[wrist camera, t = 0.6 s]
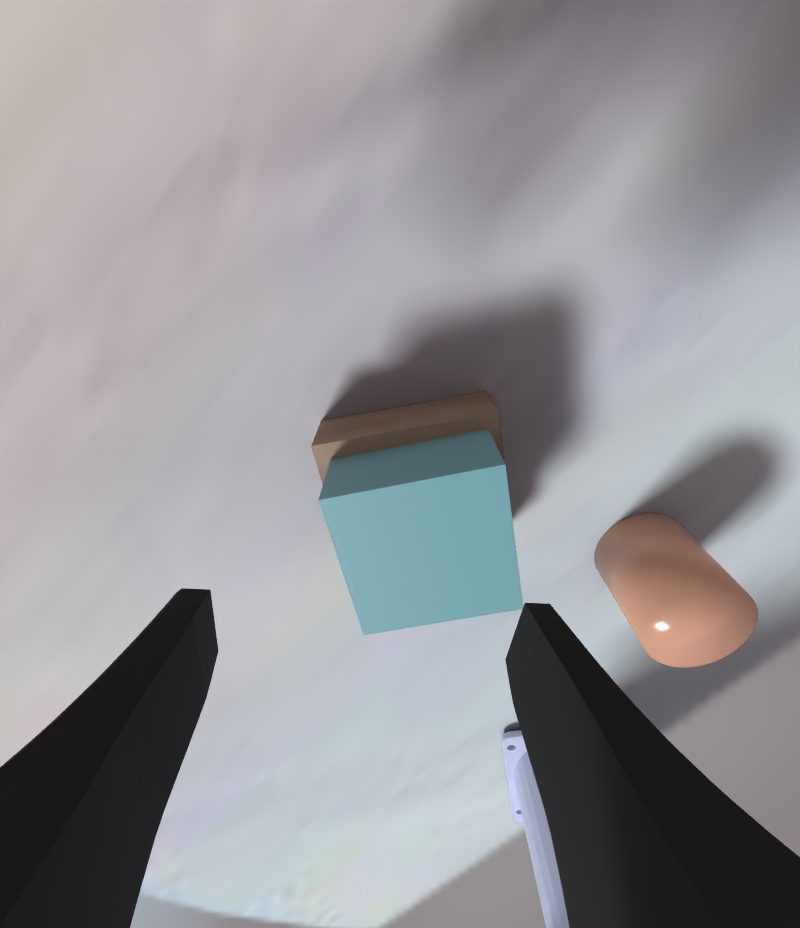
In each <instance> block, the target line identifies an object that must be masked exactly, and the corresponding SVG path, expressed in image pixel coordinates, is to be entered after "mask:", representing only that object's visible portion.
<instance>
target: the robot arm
mask: <svg viewBox="0 0 800 928" xmlns="http://www.w3.org/2000/svg"><path fill="white" fill-rule="evenodd" d="M217 654H218V645H217V638H216V630H215V622H214V615H213V607H212V600H211V592H210V590H205V589H181V590H179V591H178V592H177V593H176V594H175V595H174V596H173V597H172V599H171V600H170V601H169V602H168V603H167V604H166V605H165V607H164V608H163V609H162V610H161V611H160V612H159V613H158V614H157V616H156V617H155V618H154V619H153V620H152V621H151V622H150V623H149V625H148V626H147V627H146V628H145V629H144V630H143V631H142V632H141V633H140V634H139V635H138V637H137V638H136V639H135V640H134V641H133V642H132V643H131V644H130V645H129V646H128V647H127V648H126V649H125V650H124V651H123V653H122V654H121V655H120V656H119V657H118V658H117V659H116V660H115V661H114V662H113V663H112V664H111V665H110V666H109V667H108V668H107V669H106V670H105V671H104V672H103V673H102V674H101V675H100V676H99V677H98V678H97V679H96V680H95V681H94V682H93V683H92V684H91V685H90V686H89V687H88V688H87V689H86V690H85V691H84V692H83V693H82V694H81V695H80V696H79V697H78V698H77V699H76V700H75V701H74V702H73V703H72V704H71V705H69V706H68V707H67V708H66V709H65V710H64V711H63V712H62V713H61V714H60V715H59V716H58V717H57V718H56V719H55V720H54V721H53V722H52V723H50V724H49V725H48V726H47V727H46V728H45V729H44V730H43V731H42V732H40V733H39V734H38V735H37V736H36V737H35V738H34V739H33V740H32V741H30V742H29V743H28V744H27V745H26V746H25V747H24V748H22V749H21V750H20V751H19V752H18V753H17V754H15V755H14V756H13V757H12V758H11V759H10V760H8V761H7V762H6V763H5V764H4V765H3V766H1V767H0V928H130V925H131V921H132V918H133V914H134V910H135V907H136V903H137V899H138V896H139V892H140V889H141V885H142V882H143V878H144V875H145V871H146V868H147V864H148V861H149V857H150V854H151V850H152V847H153V843H154V840H155V836H156V833H157V830H158V827H159V824H160V821H161V818H162V815H163V812H164V810H165V807H166V804H167V802H168V799H169V796H170V794H171V791H172V788H173V786H174V783H175V780H176V778H177V775H178V772H179V770H180V767H181V764H182V762H183V759H184V756H185V754H186V751H187V748H188V746H189V743H190V740H191V738H192V735H193V732H194V730H195V727H196V724H197V722H198V719H199V716H200V714H201V711H202V708H203V705H204V703H205V700H206V697H207V693H208V689H209V686H210V682H211V678H212V674H213V670H214V666H215V662H216V658H217ZM506 665H507V671H508V677H509V683H510V689H511V694H512V699H513V704H514V708H515V712H516V715H517V719H518V722H519V725H520V729H521V730H517V731H510V732H506V733H504V734H503V735H502V737H501V740H502V746H503V753H504V760H505V767H506V774H507V781H508V787H509V794H510V801H511V808H512V815H513V820H514V822H515V823H517V824H524V827H525V831H526V836H527V840H528V845H529V850H530V854H531V859H532V864H533V868H534V873H535V878H536V882H537V886H538V891H539V896H540V901H541V905H542V910H543V914H544V919H545V923H546V928H800V857H799V856H798V855H796V854H795V853H794V852H792V851H791V850H790V849H789V848H788V847H786V846H785V845H784V844H783V843H782V842H780V841H779V840H778V839H777V838H775V837H774V836H773V835H772V834H771V833H769V832H768V831H767V830H766V829H765V828H764V827H762V826H761V825H760V824H759V823H758V822H756V821H755V820H754V819H753V818H752V817H751V816H749V815H748V814H747V813H746V812H745V811H744V810H743V809H741V808H740V807H739V806H738V805H737V804H735V803H734V802H733V801H732V800H731V799H730V798H729V797H728V796H727V795H725V794H724V793H723V792H722V791H721V790H720V789H719V788H718V787H717V786H715V785H714V784H713V783H712V782H711V781H710V780H709V779H708V778H707V777H706V776H705V775H704V774H703V773H702V772H701V771H699V770H698V769H697V768H696V767H695V766H694V765H693V764H692V763H691V762H690V761H689V760H688V759H687V758H686V757H685V756H684V755H683V754H682V753H680V752H679V751H678V750H677V749H676V748H675V747H674V746H673V745H672V744H671V743H670V742H669V741H668V740H667V738H666V737H665V736H664V735H663V734H662V733H661V732H660V731H659V730H658V729H657V728H656V727H655V726H654V725H653V724H652V723H651V722H650V721H649V720H648V719H647V718H646V716H645V715H644V714H643V713H642V712H641V711H640V710H639V709H638V708H637V707H636V706H635V705H634V704H633V703H632V701H631V700H630V699H629V698H628V697H627V696H626V695H625V694H624V692H623V691H622V690H621V689H620V688H619V687H618V686H617V684H616V683H615V682H614V681H613V680H612V679H611V677H610V676H609V675H608V674H607V673H606V672H605V670H604V669H603V668H602V667H601V666H600V665H599V663H598V662H597V661H596V660H595V659H594V657H593V656H592V655H591V654H590V653H589V651H588V650H587V649H586V648H585V646H584V645H583V644H582V643H581V642H580V640H579V639H578V638H577V637H576V635H575V634H574V633H573V632H572V631H571V629H570V628H569V627H568V626H567V624H566V623H565V622H564V621H563V619H562V618H561V617H560V616H559V615H558V613H557V612H556V611H555V610H554V608H553V607H552V606H551V605H550V604H538V603H525V604H524V607H523V610H522V613H521V616H520V619H519V622H518V625H517V628H516V630H515V633H514V636H513V639H512V642H511V645H510V648H509V651H508V654H507V657H506Z"/></svg>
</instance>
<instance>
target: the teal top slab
mask: <svg viewBox="0 0 800 928" xmlns="http://www.w3.org/2000/svg"><path fill="white" fill-rule="evenodd" d="M319 502H320V505H321V508H322V511H323V514H324V517H325V520H326V523H327V526H328V529H329V532H330V535H331V538H332V541H333V544H334V547H335V550H336V553H337V556H338V559H339V562H340V565H341V568H342V571H343V574H344V577H345V580H346V583H347V586H348V589H349V592H350V595H351V598H352V601H353V604H354V607H355V610H356V613H357V616H358V619H359V622H360V625H361V628H362V631H363V634H364V635H368V634H374V633H380V632H386V631H392V630H398V629H404V628H410V627H416V626H422V625H428V624H434V623H440V622H446V621H452V620H458V619H464V618H470V617H476V616H482V615H488V614H494V613H500V612H506V611H512V610H518V609H523V601H522V593H521V585H520V577H519V569H518V561H517V553H516V545H515V537H514V529H513V521H512V513H511V505H510V497H509V489H508V481H507V473H506V465H505V462H504V460H503V458H502V456H501V454H500V452H499V450H498V448H497V446H496V444H495V442H494V440H493V438H492V436H491V434H490V432H489V430H488V429H484V430H479V431H474V432H469V433H464V434H459V435H454V436H449V437H443V438H438V439H433V440H428V441H423V442H418V443H413V444H408V445H403V446H398V447H393V448H388V449H383V450H378V451H372V452H367V453H362V454H357V455H352V456H347V457H342V458H337V459H332V460H330V462H329V466H328V469H327V473H326V477H325V480H324V484H323V487H322V491H321V494H320V498H319Z"/></svg>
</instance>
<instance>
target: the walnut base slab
mask: <svg viewBox="0 0 800 928" xmlns="http://www.w3.org/2000/svg"><path fill="white" fill-rule="evenodd" d="M484 429H488V430H489V432H490V434H491V436H492V438H493V440H494V442H495V444H496V446H497V448H498V450H499V452H500V454H501V456H502V458H503V460H504V457H503V447H502V437H501V428H500V418H499V412H498V410H497V408H496V406H495V405H494V403H493V401H492V400H491V398H490V396H489V395H488V393H487V391H482V392H476V393H471V394H465V395H460V396H454V397H449V398H443V399H438V400H432V401H427V402H421V403H416V404H410V405H405V406H399V407H394V408H388V409H383V410H377V411H372V412H367V413H361V414H356V415H350V416H345V417H339V418H334V419H328V420H323V421H321V423H320V425H319V428H318V430H317V433H316V436H315V438H314V441H313V443H312V450H313V453H314V457H315V460H316V463H317V467H318V470H319V473H320V477H321V480H322V483H323V484H324V480H325V477H326V473H327V469H328V466H329V462H330V460H332V459H337V458H342V457H347V456H352V455H357V454H362V453H367V452H372V451H378V450H383V449H388V448H393V447H398V446H403V445H408V444H413V443H418V442H423V441H428V440H433V439H438V438H443V437H449V436H454V435H459V434H464V433H469V432H474V431H479V430H484Z"/></svg>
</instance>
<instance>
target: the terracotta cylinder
mask: <svg viewBox="0 0 800 928" xmlns="http://www.w3.org/2000/svg"><path fill="white" fill-rule="evenodd" d="M594 560H595V565H596V568H597V570H598V572H599V574H600V575H601V577H602V579H603V580H604V582H605V584H606V585H607V587H608V589H609V590H610V592H611V594H612V595H613V597H614V599H615V601H616V602H617V604H618V606H619V607H620V609H621V611H622V612H623V614H624V616H625V617H626V619H627V621H628V622H629V624H630V626H631V627H632V629H633V631H634V632H635V634H636V636H637V637H638V639H639V641H640V643H641V644H642V646H643V648H644V649H645V651H646V652H647V654H648V655H649V656H650V657H651V658H653V659H654V660H655V661H657V662H659V663H661V664H664V665H667V666H672V667H680V668H687V667H696V666H702V665H706V664H709V663H712V662H715V661H717V660H720V659H722V658H724V657H726V656H728V655H729V654H731V653H732V652H734V651H735V650H737V649H738V648H739V647H740V646H741V645H742V644H743V643H744V642H745V641H746V640H747V639H748V638H749V637H750V635H751V634H752V632H753V630H754V628H755V626H756V623H757V617H758V612H757V607H756V604H755V602H754V600H753V599H752V598H751V597H750V595H749V594H748V593H747V592H746V591H745V590H744V589H743V588H742V587H741V586H740V585H739V584H738V583H737V582H736V581H735V580H734V579H733V578H732V577H731V576H730V575H729V574H728V573H727V572H726V571H725V570H724V569H723V568H722V567H721V566H720V565H719V564H718V563H717V562H716V561H715V559H714V558H713V557H712V556H711V555H710V554H709V553H708V552H707V551H706V550H705V549H704V548H703V547H702V546H701V545H700V544H699V543H698V542H697V541H696V540H695V539H694V538H693V537H692V536H691V535H690V534H689V533H688V532H687V531H686V530H685V529H684V528H683V527H682V526H681V525H680V524H679V523H678V522H677V521H676V520H675V519H673V518H671V517H669V516H667V515H664V514H660V513H641V514H637V515H633V516H630V517H627V518H625V519H623V520H621V521H619V522H618V523H616V524H615V525H613V526H612V527H611V528H610V529H608V530H607V531H606V533H605V534H604V535H603V536H602V537H601V539H600V541H599V542H598V544H597V547H596V550H595V556H594Z"/></svg>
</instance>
